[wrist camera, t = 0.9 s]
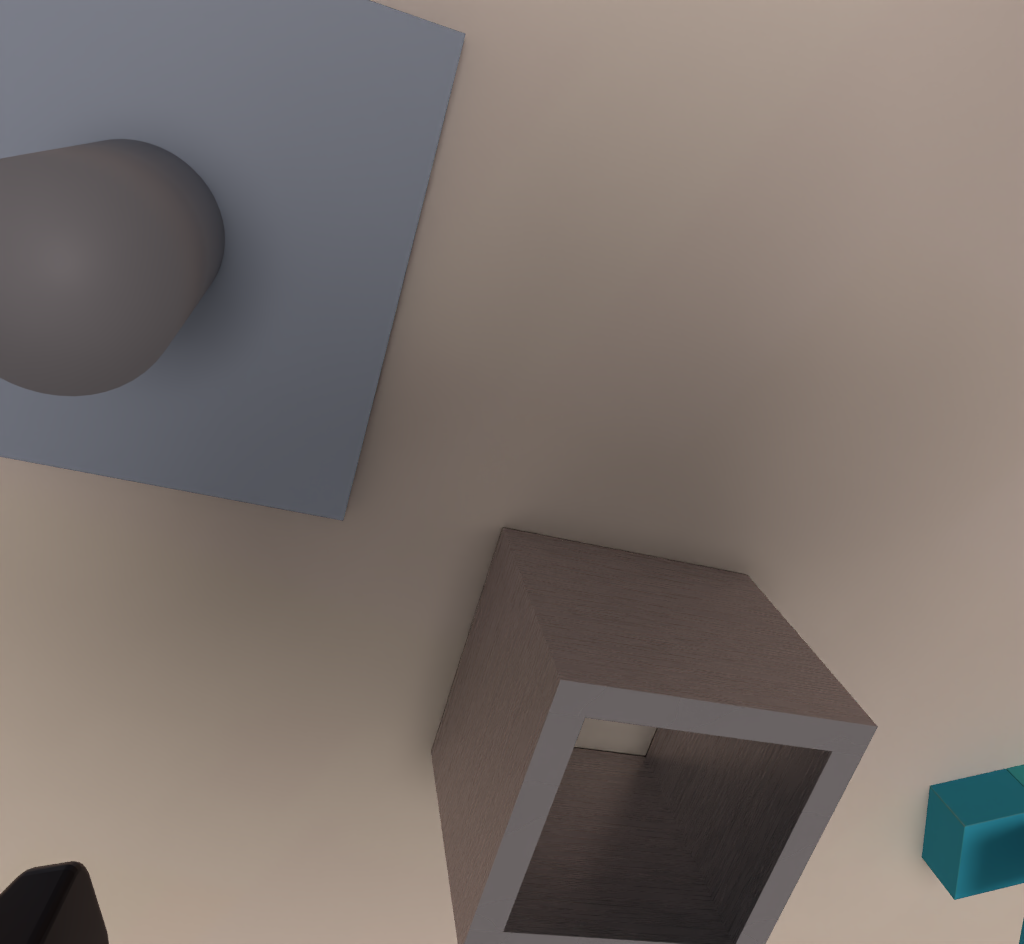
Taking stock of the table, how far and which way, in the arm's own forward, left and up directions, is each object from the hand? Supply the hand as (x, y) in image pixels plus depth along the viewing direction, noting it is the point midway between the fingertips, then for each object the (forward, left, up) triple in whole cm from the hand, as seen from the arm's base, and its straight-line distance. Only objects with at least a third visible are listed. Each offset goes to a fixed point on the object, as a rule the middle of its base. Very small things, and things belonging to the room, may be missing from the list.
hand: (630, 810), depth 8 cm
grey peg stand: (+7, -2, -13) cm, 14 cm away
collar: (-5, +6, -13) cm, 15 cm away
